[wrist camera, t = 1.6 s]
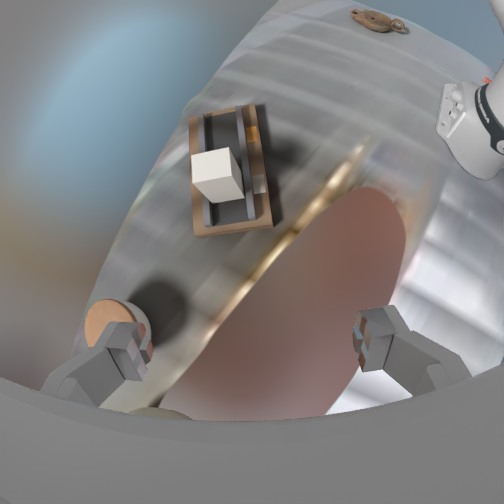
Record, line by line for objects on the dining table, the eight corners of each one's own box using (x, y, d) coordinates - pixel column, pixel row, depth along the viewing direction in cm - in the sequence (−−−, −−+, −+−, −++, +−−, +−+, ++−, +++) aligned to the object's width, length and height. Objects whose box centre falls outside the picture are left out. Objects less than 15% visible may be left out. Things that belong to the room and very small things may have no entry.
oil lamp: (346, 24, 47) (347, 10, 42) (354, 12, 47) (355, -2, 42) (399, 44, 44) (403, 30, 39) (403, 31, 44) (407, 17, 39)
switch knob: (244, 197, 42) (231, 175, 33) (212, 203, 43) (192, 183, 34) (242, 173, 42) (228, 147, 34) (210, 179, 43) (191, 155, 34)
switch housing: (273, 227, 43) (271, 221, 40) (198, 238, 45) (190, 234, 41) (256, 109, 46) (253, 98, 43) (192, 123, 48) (185, 113, 44)
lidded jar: (131, 368, 44) (100, 381, 35) (102, 318, 46) (68, 321, 37) (173, 339, 43) (145, 350, 34) (140, 286, 45) (107, 284, 36)
